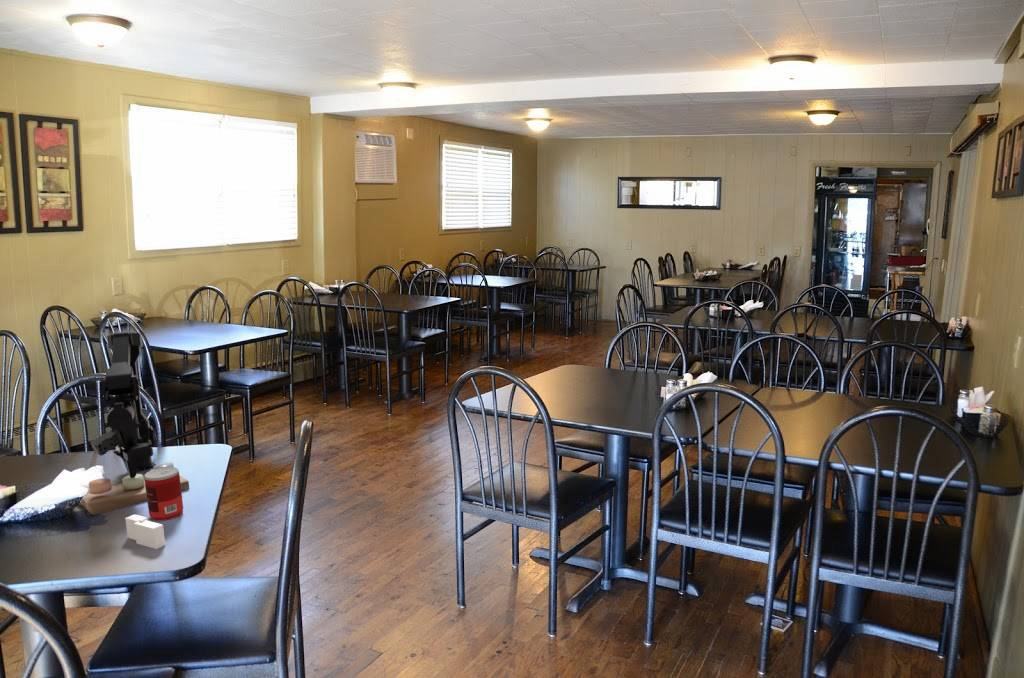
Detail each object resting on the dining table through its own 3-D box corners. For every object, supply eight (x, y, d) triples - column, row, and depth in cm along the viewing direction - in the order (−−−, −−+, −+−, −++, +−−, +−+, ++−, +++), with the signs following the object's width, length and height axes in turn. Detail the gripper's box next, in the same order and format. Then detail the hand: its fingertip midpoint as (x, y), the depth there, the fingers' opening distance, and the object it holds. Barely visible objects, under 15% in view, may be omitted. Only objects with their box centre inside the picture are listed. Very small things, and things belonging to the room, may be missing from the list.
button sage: (120, 487, 213) (119, 477, 212) (140, 482, 216) (139, 472, 216) (127, 492, 209) (125, 482, 209) (147, 487, 213) (145, 477, 212)
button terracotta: (87, 492, 207) (86, 482, 207) (108, 486, 211) (106, 476, 210) (93, 497, 204) (91, 486, 203) (114, 491, 207) (112, 481, 207)
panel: (78, 502, 210) (77, 495, 209) (172, 477, 225) (171, 470, 225) (92, 514, 201) (91, 507, 201) (189, 488, 217) (188, 481, 216)
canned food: (189, 508, 203) (184, 466, 201) (173, 521, 195) (168, 478, 193) (160, 508, 204) (155, 466, 202) (143, 521, 196) (137, 478, 194)
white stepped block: (174, 550, 180) (171, 526, 179) (118, 560, 176) (114, 536, 175) (174, 525, 194) (171, 502, 193) (122, 534, 190) (119, 511, 189)
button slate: (151, 475, 218) (150, 465, 218) (170, 470, 221) (169, 461, 221) (158, 480, 214) (157, 470, 214) (177, 475, 218) (176, 465, 217)
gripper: (80, 420, 211) (88, 477, 214) (103, 434, 197) (111, 495, 200) (125, 411, 218) (132, 466, 221) (150, 424, 205) (157, 482, 208)
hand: (132, 477), depth 212 cm, fingers closed, pressing on button sage
